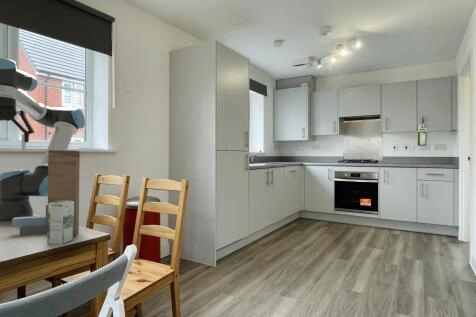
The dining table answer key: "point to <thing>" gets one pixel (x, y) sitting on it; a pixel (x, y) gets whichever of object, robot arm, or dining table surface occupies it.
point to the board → (33, 230)
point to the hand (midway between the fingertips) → (3, 149)
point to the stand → (64, 180)
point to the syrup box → (60, 222)
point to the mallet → (31, 220)
